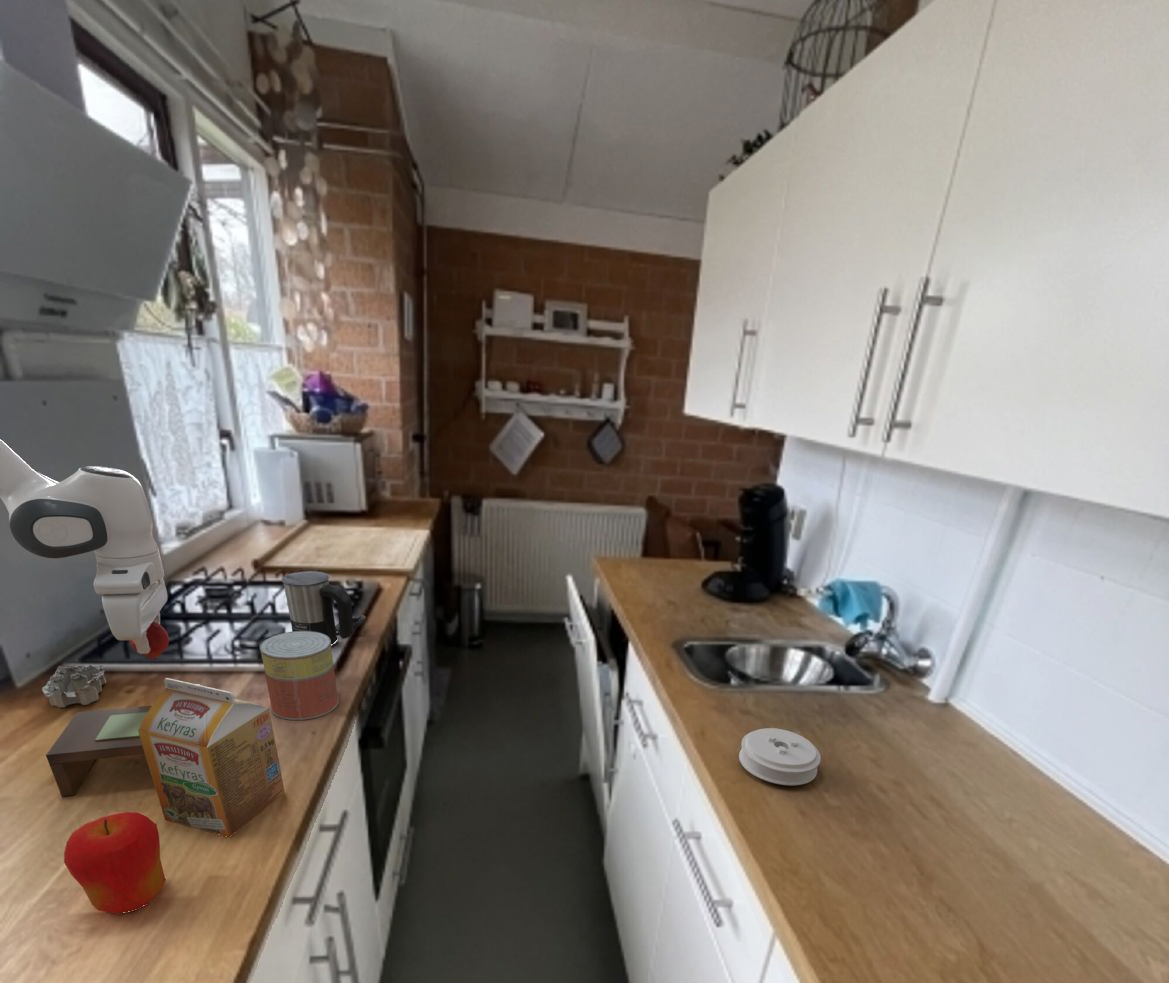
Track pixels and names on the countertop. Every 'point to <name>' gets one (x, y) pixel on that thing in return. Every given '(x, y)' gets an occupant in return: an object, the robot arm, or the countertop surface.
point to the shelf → (94, 743)
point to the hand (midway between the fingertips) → (150, 644)
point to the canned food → (300, 674)
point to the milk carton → (210, 757)
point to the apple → (117, 861)
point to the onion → (155, 640)
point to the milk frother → (319, 605)
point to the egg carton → (74, 685)
